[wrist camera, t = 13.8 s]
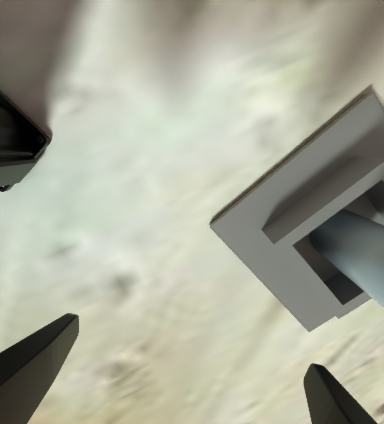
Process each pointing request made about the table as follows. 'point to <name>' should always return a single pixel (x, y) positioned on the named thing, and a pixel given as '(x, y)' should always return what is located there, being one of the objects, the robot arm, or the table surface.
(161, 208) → the table surface
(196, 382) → the table surface
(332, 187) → the grey square socket base
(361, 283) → the pale blue rounded cylinder
